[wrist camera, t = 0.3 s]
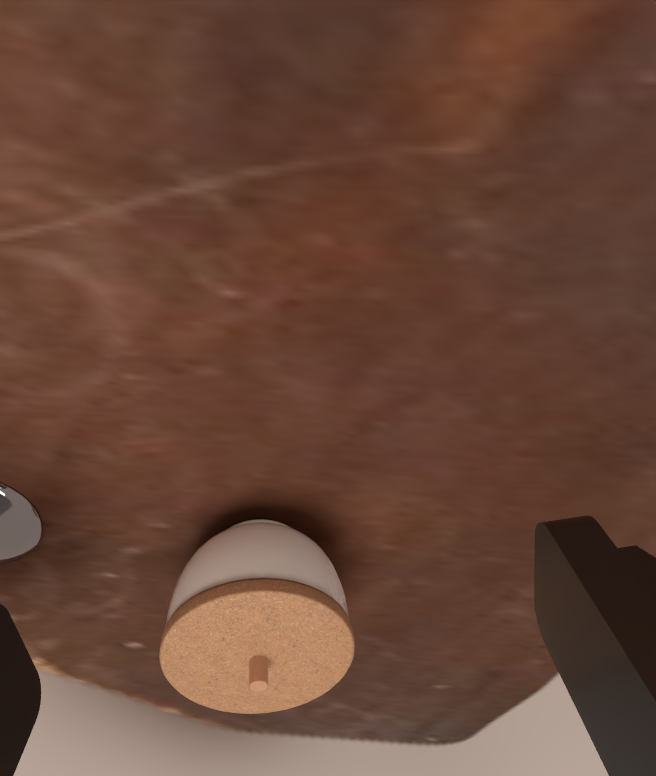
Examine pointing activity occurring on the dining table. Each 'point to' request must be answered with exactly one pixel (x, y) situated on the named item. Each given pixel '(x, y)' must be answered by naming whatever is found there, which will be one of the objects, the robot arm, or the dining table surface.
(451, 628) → the dining table surface
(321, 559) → the lidded jar
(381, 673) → the dining table surface
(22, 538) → the wine glass
